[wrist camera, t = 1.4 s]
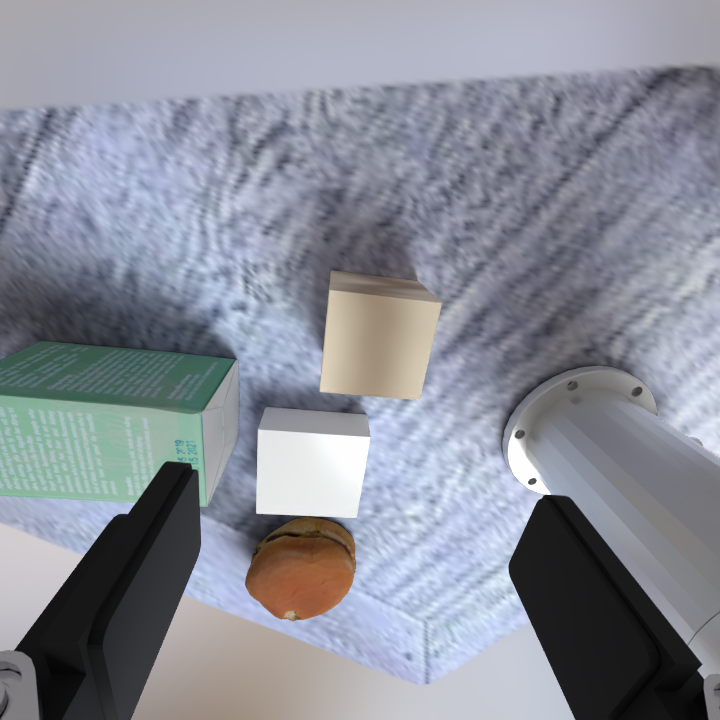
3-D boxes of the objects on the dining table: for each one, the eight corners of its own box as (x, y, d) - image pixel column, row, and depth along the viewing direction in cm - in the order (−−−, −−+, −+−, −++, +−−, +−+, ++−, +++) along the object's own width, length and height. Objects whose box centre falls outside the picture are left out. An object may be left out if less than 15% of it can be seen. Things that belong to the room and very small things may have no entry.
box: (36, 337, 24) (-82, 391, 17) (239, 354, 26) (205, 410, 19) (59, 426, 27) (-33, 502, 20) (240, 436, 28) (211, 510, 22)
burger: (353, 510, 32) (355, 556, 28) (355, 575, 36) (358, 625, 32) (245, 516, 32) (231, 564, 28) (259, 582, 36) (248, 634, 32)
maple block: (417, 280, 24) (441, 303, 19) (402, 359, 27) (419, 400, 21) (330, 269, 23) (329, 290, 18) (322, 352, 26) (319, 391, 20)
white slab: (366, 414, 28) (370, 437, 25) (354, 490, 31) (356, 517, 29) (265, 406, 27) (257, 429, 24) (263, 485, 30) (256, 513, 28)
